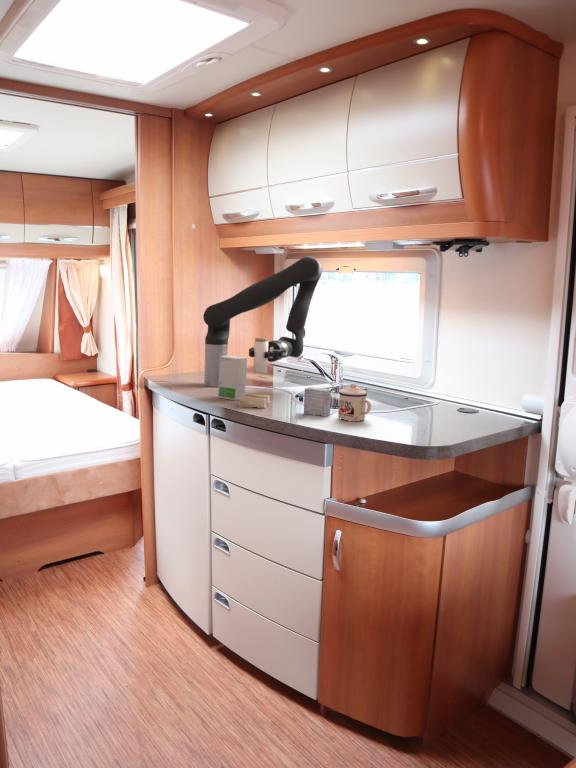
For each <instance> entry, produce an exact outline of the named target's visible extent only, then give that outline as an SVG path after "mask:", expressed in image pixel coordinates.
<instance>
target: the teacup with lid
mask: <svg viewBox="0 0 576 768" xmlns="http://www.w3.org/2000/svg"><path fill="white" fill-rule="evenodd" d="M349 385H350V386H347V387H344V388H342V389H339V391H338V396H339V398H338V399H339V400H338V415H337V417H339V418H341V419H345V420H350V421H349V422H351V421H358V422H361V421H360V420H363V421H365V419H366V415H368V414H370V411H371V410H372V404H371V401H370V400H369V399H367V396H368V393H367V391H366V390H364V389H361V388H360V387H359V386H357V383H353V382H351V383H350V384H349ZM366 404H367V408H366ZM339 418H338V419H339ZM341 419H340V420H341Z"/></svg>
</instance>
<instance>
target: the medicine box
mask: <svg viewBox="0 0 576 768" xmlns="http://www.w3.org/2000/svg"><path fill="white" fill-rule="evenodd" d="M331 394H332V390H331V389H330V388H322V387H314V386H310V387H306V388H304V398H303V399H304V400H303V401H304V402H303V414H304V413H306V415H311V414H315V415H314V416H317V415H323V416H322V417H326V416H325V415H327V416H329V415H328V414H330V415H331V400H332V399H331V397H332V395H331Z"/></svg>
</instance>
